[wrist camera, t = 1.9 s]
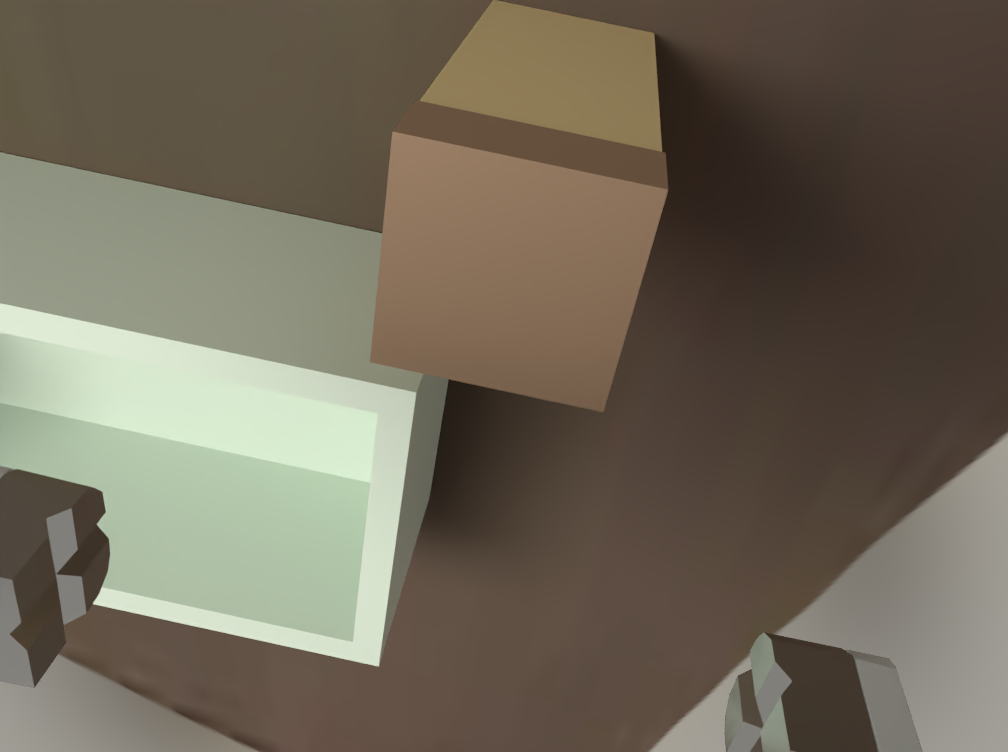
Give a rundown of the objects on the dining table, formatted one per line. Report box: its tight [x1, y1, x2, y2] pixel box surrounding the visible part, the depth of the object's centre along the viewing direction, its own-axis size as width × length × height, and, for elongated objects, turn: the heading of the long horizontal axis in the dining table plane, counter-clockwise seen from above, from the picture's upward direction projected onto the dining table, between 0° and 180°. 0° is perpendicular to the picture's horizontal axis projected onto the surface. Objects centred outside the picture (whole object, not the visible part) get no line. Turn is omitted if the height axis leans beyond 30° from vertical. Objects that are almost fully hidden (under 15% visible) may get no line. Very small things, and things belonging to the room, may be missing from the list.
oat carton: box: [370, 0, 668, 412], centre depth 23 cm, size 5×5×13 cm
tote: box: [0, 152, 449, 666], centre depth 31 cm, size 12×28×9 cm, turn 80°
